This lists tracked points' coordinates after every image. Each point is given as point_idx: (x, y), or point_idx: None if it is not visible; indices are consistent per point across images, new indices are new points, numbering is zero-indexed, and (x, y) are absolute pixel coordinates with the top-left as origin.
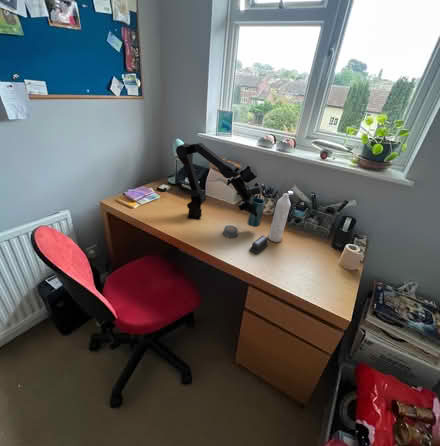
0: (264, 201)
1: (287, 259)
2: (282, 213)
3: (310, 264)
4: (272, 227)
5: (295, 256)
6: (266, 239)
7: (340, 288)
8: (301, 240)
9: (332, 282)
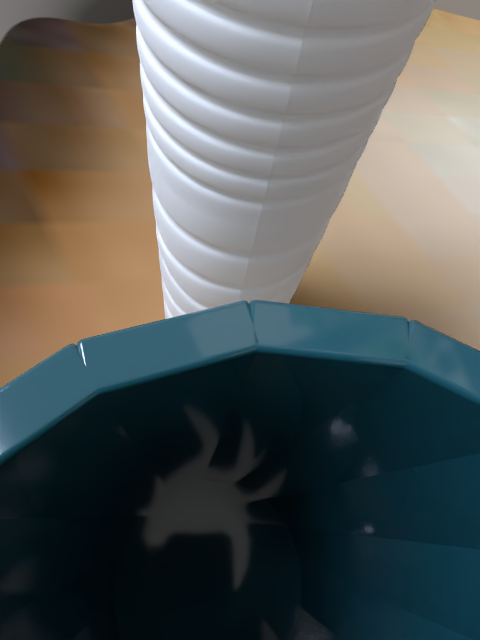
0: (170, 344)
1: (430, 216)
2: None
3: (388, 116)
4: (289, 286)
5: (366, 177)
6: None
7: (470, 41)
8: (145, 141)
9: (455, 57)
